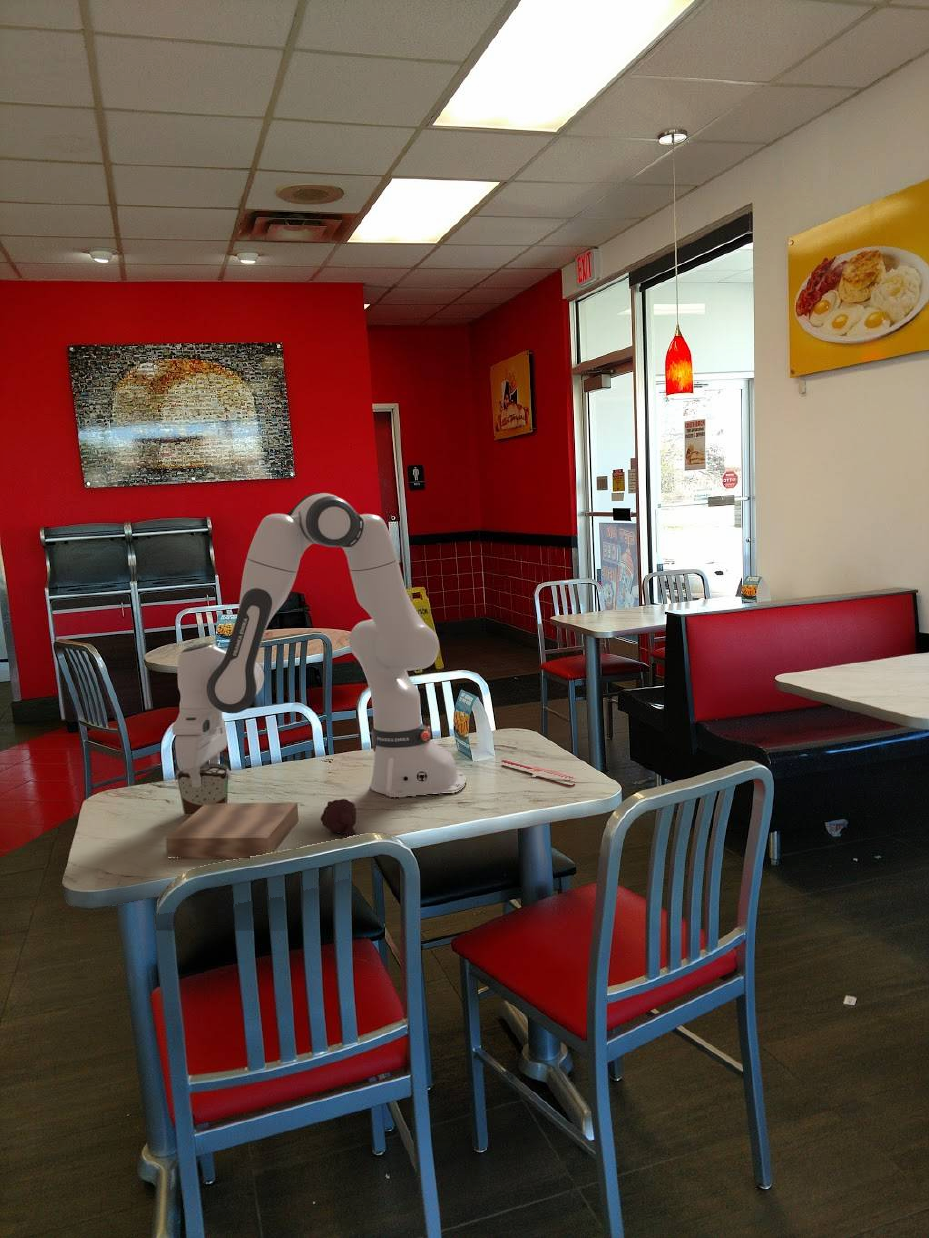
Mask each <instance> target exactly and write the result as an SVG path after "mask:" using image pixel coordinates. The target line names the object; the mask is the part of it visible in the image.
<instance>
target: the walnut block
mask: <svg viewBox="0 0 929 1238" xmlns="http://www.w3.org/2000/svg"><path fill="white" fill-rule="evenodd" d="M298 807H299V806H298V802H230V803H229V802H227V803H205V804H204V805H203V806H202V807H201V808H200V809H199V810H197V811H196V812H195V813H194V814H193V815H192V816H190V817H188V818H187V819H186V820H185V821H183V822H182V823H181V825H179V826H178V827H177V828H175V830H174V831H172V832H171V833H170V834H169V835H168V836H167V837H166V838H165V847H166V857H175V858H177V857H178V858H177V859H245V858H244V857H250V856H256V855H263V854H266V853H271V852H275V851H276V850H277V849H278V848H279V846H280V845H281V844H282V843H283V841H284V840H285V838H286V837H287V836H288V835H289V834H290V832H291V831H292V830H293V828H294V827H296V825H297V823H298V822H299V809H298Z"/></svg>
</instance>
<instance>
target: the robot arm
mask: <svg viewBox="0 0 929 1238" xmlns="http://www.w3.org/2000/svg"><path fill="white" fill-rule="evenodd" d="M313 544H315V545H316V544H317V545H321V546H324V547H328V548H342V550H343V551H344V554H345V556H346V559H347V564H348V569H349V573H350V577H351V581H352V584H353V585H352V586H353V588H354V593H355V598H356V600H357V603H358V604H359V605H360V607H361V608H363V609H364V610H365V612H367V614H368V615H369V617H370V618H371V619H367V620H362V621H360V622H358V623H357V624H355V626H354V627H353V628H352V629H351V632H350V634H349V640H348V641H349V642H348V644H349V649H350V651H351V654H353V656H354V657H355V658H356V659H357V661H358V662H359V664H360V666H361V667H362V671H363V673H364V675H365V678H366V682H367V685H368V688H369V692H370V695H371V697H370V698H371V706H372V718H373V727H372V728H371V742H372V743H371V745H372V750H373V752H374V755H373V756H374V759H373V769H372V777H371V781H370V782H371V783H370V786H369V788H370V789H371V790H372V791H373V792H376V793H380V794H383V795H385V796H387V797H388V796H389V798H391V797H394V798H393V799H396V798H395V797H399V798H407V797H406V796H412V797H417V796H416V795H424V794H433V793H442V792H452V791H456V790H460V789H461V788H462V787H463V786H464V785H465V783H466V779H467V775H466V774H465V773H464V772H461V771H458V770H457V764H456V762H455V759H454V756H453V754H451V753H450V751H447V749H445V748H443V747H441V746H440V745H439V744H437V743H435V742H434V741H433V740H431V735H432V734H431V727H430V725H428V726H426V725H425V724H423V723H422V715H421V714H422V712H421V710H422V709H421V694H420V691H419V689H418V688H417V687H416V685H415V684H414V683H413V682H412V680H411V678H410V675H409V674H408V671H409V672H410V671H417V670H422V669H423V670H425V669H427V668H429V667H431V666H432V665H433V664H434V663H435V661H436V660H437V658H438V656H439V651H440V641H439V638H438V635H437V634H436V632H435V631H434V630H433V628H431V627H429V625H428V624H426V622H424V620H423V619H422V617H421V616H420V615H419V612H418V611H417V610H416V607H415V605H414V604H413V603H412V600H411V599H410V596H409V594H408V591H407V589H406V587H405V582H404V578H403V574H402V571H401V566H400V562H399V559H398V555H397V551H396V547H395V544H394V541H393V538H392V535H391V533H390V531H389V528H388V526H387V524H386V522H385V520H384V519H383V518H382V517H381V516H379V515H376V514H371V513H363V514H362V513H361V514H359V513H358V512H357V511H356V509H354V507H353V506H352V505H351V504H350V503H349V502H347V501H346V500H345V499H343V498H341V497H338V496H337V495H334V494H331V493H328V492H322V493H321V492H315V493H311V494H309V495H306V496H304V497H303V498H302V499H301V500H300V501H299V502H298V503H296V504H295V506H294V507H293V508H291V509H290V510H289V512H288V513H287V514H285V513H271V514H268V515H266V516H265V517H264V518H263V519H262V520H261V521H260V524H259V525H258V526H257V530H256V531H255V533H254V536H253V538H252V541H251V544H250V546H249V549H248V552H247V554H246V555H247V556H246V560H245V563H244V568H243V573H242V576H241V577H242V579H241V585H240V586H241V588H240V594H239V602H238V608H237V609H238V610H237V613H236V614H237V616H236V618H235V619H236V620H235V622H234V625H233V629H232V632H231V635H230V639H229V642H228V645H227V648H226V650H223V649H222V648H220V647H218V645H216V644H215V643H212V642H204V643H203V642H202V643H198V644H193V645H191V646H187V647H186V648H184V649H183V650H182V651H180V654H179V655H178V659H177V688H178V690H179V694H180V700H179V706H178V707H179V713H178V715H177V718H176V720H175V722H174V723H173V725H172V728H171V729H172V730H171V732H172V735H174V736H175V739H174V741H175V742H174V743H175V744H174V745H175V747H174V748H175V757H176V764H177V767H178V770H179V769H180V771H188V773H189V775H190V777H191V779H192V786H193V787H200V786H201V785H202V784H203V783H202V777H200V773H199V772H200V767H201V766H202V765H203V764H207V763H216V764H220V763H219V761H220V757H221V755H220V753H221V752H222V751H224V750H225V749H226V748H227V746H228V745H227V744H228V738H227V728H226V722H225V719H224V718H223V713H225V714H226V713H227V714H238V713H242V712H244V711H245V710H247V709H248V708H249V707H251V706H252V704H253V702H254V701H255V699H256V697H257V695H258V694H259V692H260V691H261V689H262V687H263V686H264V683H265V671H264V669H263V666H261V664H260V663H259V662H258V661H257V659H258V655H259V652H260V649H261V645H262V642H263V639H264V637H265V633H266V630H267V628H268V626H269V623H270V622H271V620H272V618H273V617H274V616H275V614H276V613H277V612H278V611H279V609H280V608H281V607H282V606H283V605H284V603H285V602H286V600H287V599H288V596H289V594H290V593H291V591H292V589H293V586H294V583H295V581H296V578H297V575H298V571H299V566H300V562H301V558H302V557H303V555H304V553H305V551H306V550H307V549H308V548H309V547H310V546H311V545H313ZM466 784H467V783H466Z"/></svg>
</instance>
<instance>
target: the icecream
mask: <svg viewBox="0 0 929 1238" xmlns="http://www.w3.org/2000/svg"><path fill="white" fill-rule="evenodd" d="M320 821H321V823H322V826H324V827H325V829H326V828H327V829H328V830H329V831H330V832H332V833H335V834H336V833H337V834H346V836H347V837H349V836H353V835H357V832H356V831H355V829H354V828H353V827H354V826H355V825H356V823H357V809H356V805H355V804H354V802H352V801H350V800H348V799H346V798H342V799H341V798H340V799H334V800H331V801H328V802H327V806H325V808H324V809H323V813H322V814H321V816H320Z"/></svg>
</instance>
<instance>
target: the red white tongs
mask: <svg viewBox="0 0 929 1238" xmlns="http://www.w3.org/2000/svg"><path fill="white" fill-rule="evenodd" d="M500 760H501V762H504V763H508V764H511V765H516V766H520V767H524V768H527V769H533V770H534V771H544V772H547V773H550V774H554V775H558V776H561V777H565V778H567V777H569V779H570V778H572V779H573V778H574V779H575V777H574V776H570V775H569V776H567V774H562V773H558V772H556V771H552V770H548V769H545V768H540V767H538V766H534V765H533V766H530V765H527V764H523V763H519V762H515V761H512V760H509V759H505V758H501V759H500ZM501 762H500V763H501Z"/></svg>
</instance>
